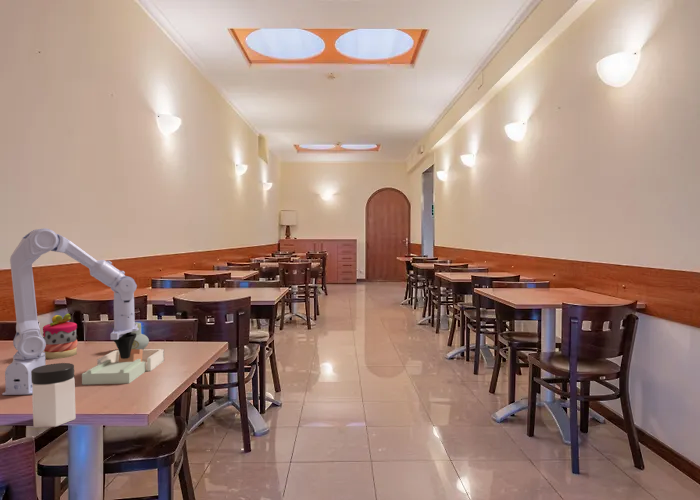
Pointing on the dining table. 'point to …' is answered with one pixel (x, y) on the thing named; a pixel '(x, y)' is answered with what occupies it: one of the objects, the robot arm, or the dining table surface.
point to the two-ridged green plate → (114, 372)
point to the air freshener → (139, 339)
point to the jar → (53, 394)
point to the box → (149, 356)
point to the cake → (60, 338)
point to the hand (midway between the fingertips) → (125, 358)
